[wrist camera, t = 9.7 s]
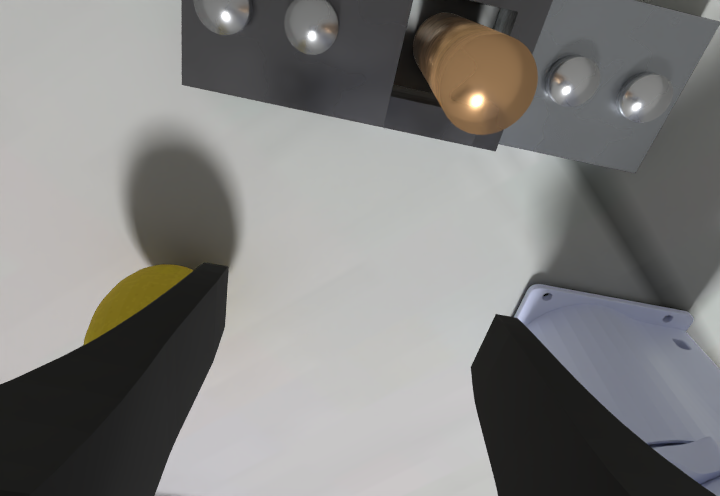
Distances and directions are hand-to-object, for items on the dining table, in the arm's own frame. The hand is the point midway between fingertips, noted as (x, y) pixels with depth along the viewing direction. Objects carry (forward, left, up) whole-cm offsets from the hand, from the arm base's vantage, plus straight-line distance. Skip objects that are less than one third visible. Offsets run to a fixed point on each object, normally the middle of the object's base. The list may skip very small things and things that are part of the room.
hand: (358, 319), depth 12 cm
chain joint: (-2, -6, -10) cm, 12 cm away
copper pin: (-2, -6, -10) cm, 12 cm away
